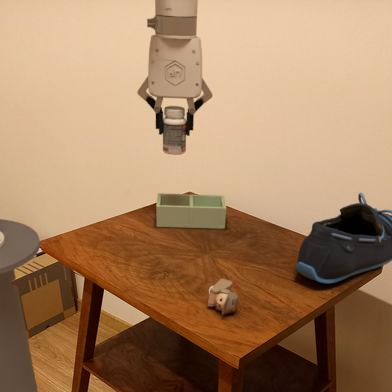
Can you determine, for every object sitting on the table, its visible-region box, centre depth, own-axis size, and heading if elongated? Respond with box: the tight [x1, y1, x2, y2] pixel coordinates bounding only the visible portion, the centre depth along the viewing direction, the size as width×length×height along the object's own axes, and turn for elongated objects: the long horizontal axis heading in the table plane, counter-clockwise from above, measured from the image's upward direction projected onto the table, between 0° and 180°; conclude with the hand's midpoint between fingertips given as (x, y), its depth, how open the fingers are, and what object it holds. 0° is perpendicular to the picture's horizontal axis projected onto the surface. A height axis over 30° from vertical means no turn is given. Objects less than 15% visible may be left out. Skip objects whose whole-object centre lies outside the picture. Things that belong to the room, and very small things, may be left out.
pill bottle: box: [162, 105, 187, 156], centre depth 103 cm, size 5×5×8 cm
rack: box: [155, 192, 227, 230], centre depth 117 cm, size 15×8×5 cm, turn 91°
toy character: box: [207, 278, 240, 316], centre depth 87 cm, size 4×8×6 cm
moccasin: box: [294, 192, 392, 285], centre depth 101 cm, size 14×34×12 cm, turn 142°
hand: (174, 132), depth 103 cm, fingers closed on pill bottle, 4 cm apart
